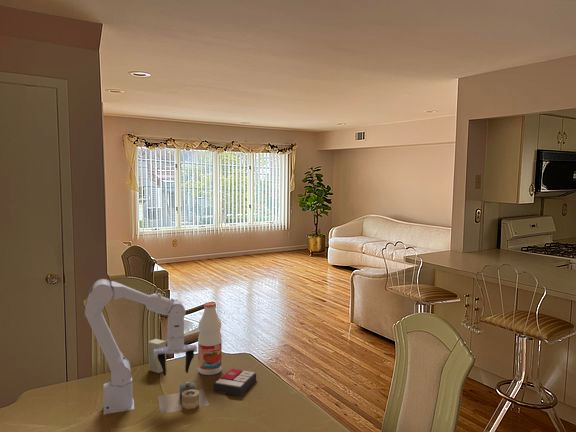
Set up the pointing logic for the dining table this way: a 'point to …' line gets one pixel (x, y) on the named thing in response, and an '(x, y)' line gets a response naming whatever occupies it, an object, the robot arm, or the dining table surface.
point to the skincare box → (153, 360)
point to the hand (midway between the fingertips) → (175, 373)
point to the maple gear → (190, 399)
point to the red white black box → (235, 382)
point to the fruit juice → (209, 341)
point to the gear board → (180, 399)
